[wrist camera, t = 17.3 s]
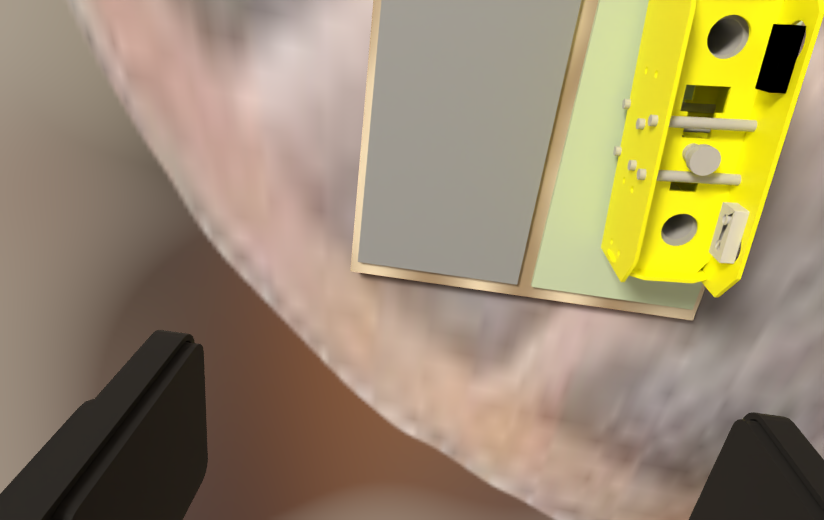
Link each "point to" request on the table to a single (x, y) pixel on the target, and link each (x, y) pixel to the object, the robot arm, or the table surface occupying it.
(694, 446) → the table surface
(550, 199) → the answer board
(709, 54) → the yellow toy chassis
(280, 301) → the table surface
